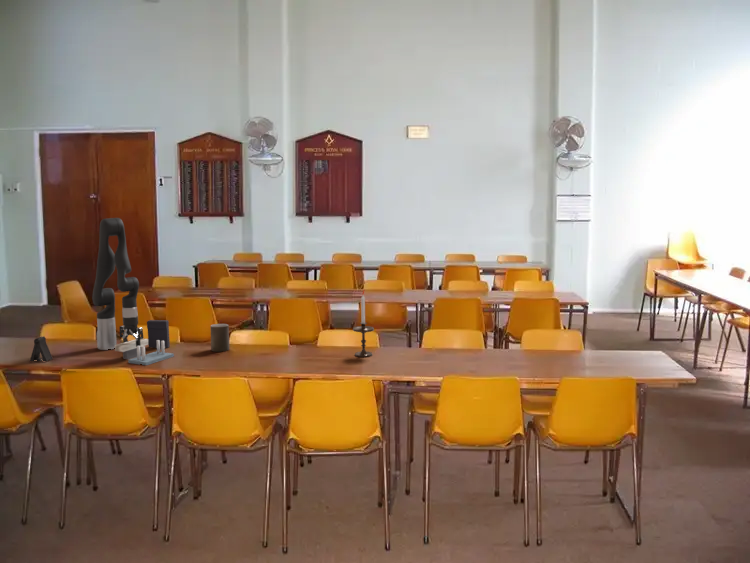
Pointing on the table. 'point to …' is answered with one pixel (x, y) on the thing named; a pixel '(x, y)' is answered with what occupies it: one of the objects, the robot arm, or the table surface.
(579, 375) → the table surface
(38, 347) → the phone stand
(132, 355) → the block
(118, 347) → the shelf board
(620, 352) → the table surface
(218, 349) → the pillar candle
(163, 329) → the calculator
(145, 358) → the peg stand
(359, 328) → the candlestick
